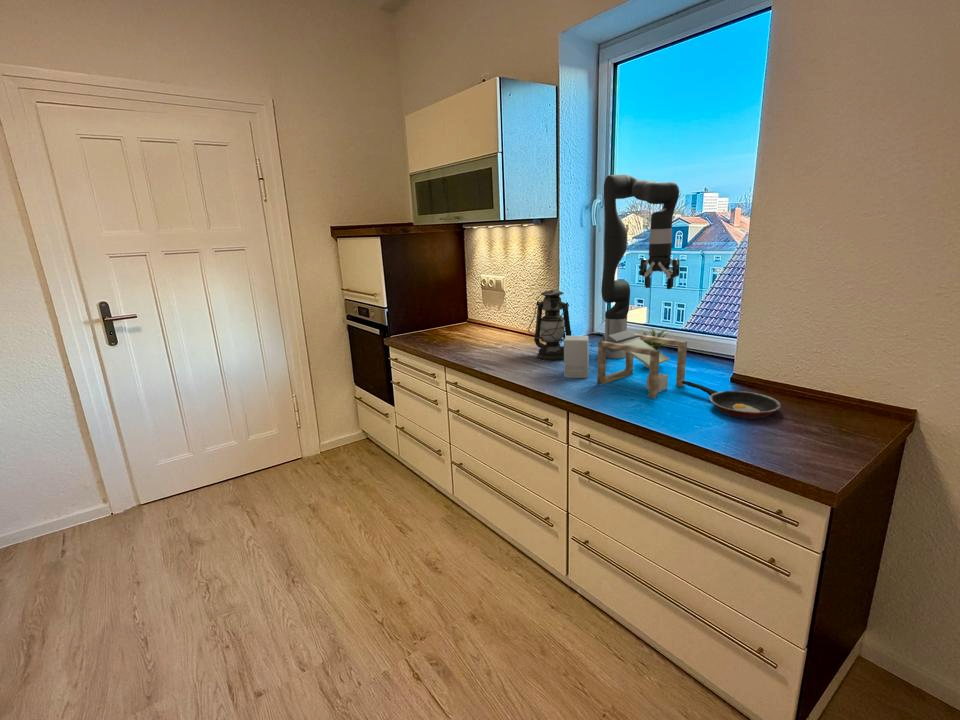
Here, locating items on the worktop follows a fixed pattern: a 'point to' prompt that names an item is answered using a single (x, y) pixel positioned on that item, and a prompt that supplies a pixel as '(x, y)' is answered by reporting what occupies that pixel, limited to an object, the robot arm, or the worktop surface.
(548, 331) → the lantern
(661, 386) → the cube
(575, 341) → the supplement box
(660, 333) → the house plant
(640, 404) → the worktop surface
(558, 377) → the worktop surface
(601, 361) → the frame
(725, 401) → the frying pan
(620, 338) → the trapdoor
